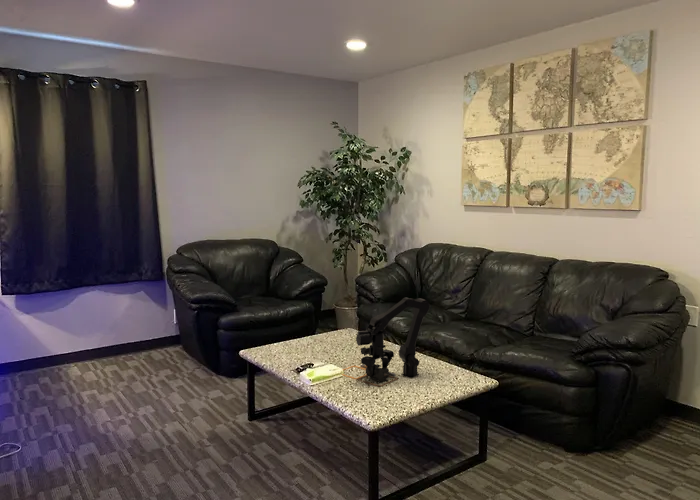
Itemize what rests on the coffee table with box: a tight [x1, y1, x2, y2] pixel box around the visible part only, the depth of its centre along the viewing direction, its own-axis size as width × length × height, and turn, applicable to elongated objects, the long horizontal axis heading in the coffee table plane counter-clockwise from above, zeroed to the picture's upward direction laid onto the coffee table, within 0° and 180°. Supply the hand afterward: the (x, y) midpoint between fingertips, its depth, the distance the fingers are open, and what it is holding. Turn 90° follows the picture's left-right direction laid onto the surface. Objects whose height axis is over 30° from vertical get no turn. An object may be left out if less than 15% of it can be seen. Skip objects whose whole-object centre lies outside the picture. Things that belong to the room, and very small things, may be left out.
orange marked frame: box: [341, 365, 366, 381], centre depth 266 cm, size 15×15×1 cm
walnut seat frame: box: [356, 374, 400, 388], centre depth 256 cm, size 15×15×1 cm
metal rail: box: [360, 363, 397, 377], centre depth 267 cm, size 22×2×1 cm, turn 47°
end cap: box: [365, 363, 390, 384], centre depth 255 cm, size 10×7×7 cm
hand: (377, 374), depth 256 cm, fingers open, 9 cm apart
